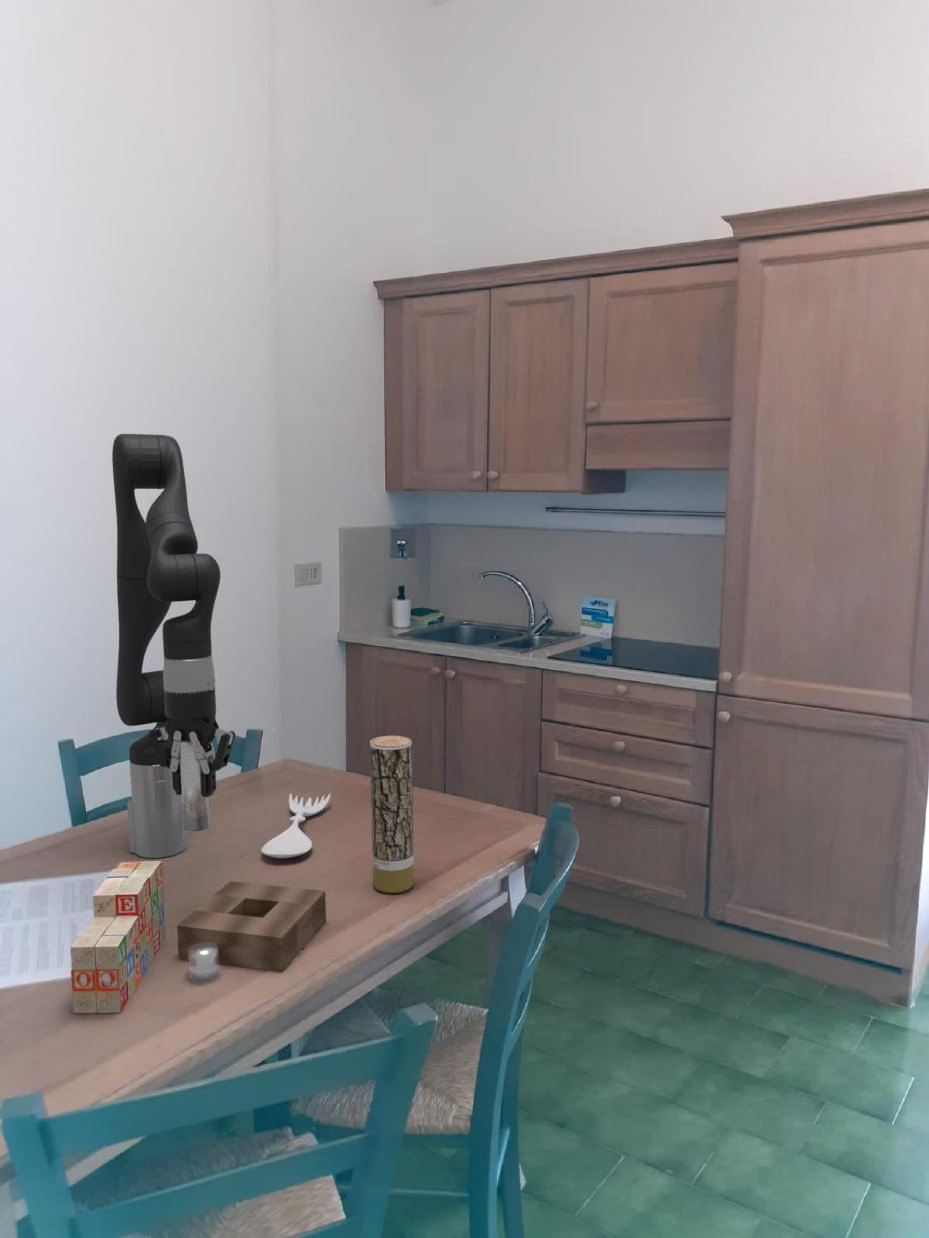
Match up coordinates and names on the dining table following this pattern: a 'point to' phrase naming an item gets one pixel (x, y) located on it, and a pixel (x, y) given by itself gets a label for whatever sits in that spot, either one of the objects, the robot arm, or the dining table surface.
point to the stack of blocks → (118, 938)
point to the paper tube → (392, 813)
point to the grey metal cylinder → (203, 962)
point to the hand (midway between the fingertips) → (195, 794)
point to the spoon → (294, 830)
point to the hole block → (255, 924)
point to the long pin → (192, 790)
